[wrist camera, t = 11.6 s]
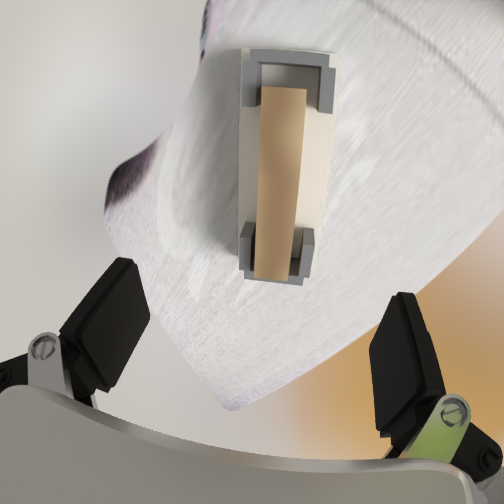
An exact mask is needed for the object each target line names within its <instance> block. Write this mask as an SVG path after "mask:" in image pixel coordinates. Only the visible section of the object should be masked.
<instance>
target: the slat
mask: <svg viewBox="0 0 504 504" xmlns="http://www.w3.org/2000/svg"><path fill="white" fill-rule="evenodd" d="M306 94H307V89H300V88H289V87H275V86H262V95H261V120H260V146H259V171H258V195H257V219H256V243H255V266H254V277H255V278H263V279H272V280H280V281H288V274H289V266H290V259H291V251H292V243H293V234H294V226H295V217H296V208H297V198H298V189H299V179H300V169H301V158H302V147H303V135H304V122H305V109H306Z"/></svg>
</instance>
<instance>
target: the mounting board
mask: <svg viewBox="0 0 504 504" xmlns="http://www.w3.org/2000/svg"><path fill="white" fill-rule="evenodd" d="M341 60H342V55H339V54H332V53H325V52H317V51H307V50H296V49H282V48H252V47H242V48H241V64H240V102H239V153H238V263H239V270H244V279H250V280H258V281H266V282H275V283H283V284H292V285H301V286H302V285H303V279H304V277H306V278H309V276H310V272H314V270H315V265H316V260H317V254H318V249H319V243H320V238H321V232H322V226H323V220H324V214H325V207H326V201H327V194H328V187H329V180H330V173H331V165H332V157H333V149H334V141H335V132H336V122H337V112H338V101H339V89H340V76H341ZM262 86H275V87H289V88H300V89H307V94H306V109H305V122H304V135H303V147H302V158H301V169H300V179H299V189H298V198H297V208H296V217H295V226H294V234H293V243H292V251H291V259H290V266H289V274H288V281H280V280H272V279H263V278H255V277H254V266H255V243H256V219H257V195H258V171H259V146H260V120H261V95H262Z"/></svg>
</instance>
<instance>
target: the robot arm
mask: <svg viewBox="0 0 504 504" xmlns="http://www.w3.org/2000/svg"><path fill="white" fill-rule="evenodd" d="M149 320H150V312H149V308H148V305H147V301H146V297H145V294H144V290H143V286H142V282H141V278H140V274H139V270H138V266H137V264H135V263H134V261H133V260H132V259H128V258H122V257H118V258H116V259H115V261H114V262H113V263H112V264H111V265H110V266H109V268H108V269H107V270H106V271H105V272H104V274H103V275H102V276H101V277H100V279H99V280H98V281H97V282H96V283H95V285H94V286H93V287H92V288H91V289H90V291H89V292H88V293H87V295H86V296H85V297H84V298H83V300H82V301H81V302H80V304H79V305H78V306H77V308H76V309H75V310H74V312H73V313H72V314H71V315H70V317H69V318H68V320H67V321H66V322H65V323H64V325H63V326H62V328H61V329H60V330H59V332H60V335H59V336H57V335H56V334H54V333H50V332H46V333H42V334H40V335H38V336H37V337H35V338H34V339H33V340H32V341H31V343H30V345H29V347H28V353H26V354H24V355H21V356H18V357H15V358H13V359H10V360H7V361H4V362H1V363H0V504H504V466H503V467H502V466H501V464H502V460H503V455H502V450H501V448H500V446H499V445H498V444H497V443H496V442H495V441H494V440H492V439H491V438H490V437H489V436H488V435H486V434H485V433H484V432H483V431H481V430H480V429H479V428H478V427H476V426H475V425H474V424H473V423H471V422H470V419H471V410H470V407H469V405H468V403H467V401H466V400H465V399H464V398H463V397H461V396H459V395H457V394H452V393H451V394H446V391H445V387H444V382H443V378H442V375H441V370H440V367H439V363H438V359H437V356H436V353H435V349H434V346H433V343H432V340H431V336H430V334H429V332H428V331H427V329H426V326H425V323H424V320H423V317H422V314H421V311H420V308H419V306H418V303H417V300H416V297H415V295H414V294H413V293H407V292H398V293H397V295H396V296H392V298H391V300H390V302H389V305H388V307H387V309H386V311H385V314H384V316H383V318H382V320H381V322H380V325H379V327H378V329H377V331H376V333H375V335H374V337H373V339H372V341H371V343H370V347H369V356H370V364H371V373H372V383H373V394H374V406H375V422H376V429H377V430H378V431H380V438H385V437H391V447H390V448H389V449H388V451H387V452H386V453H385V455H384V456H383V457H382V458H381V459H373V460H318V459H300V458H288V457H278V456H269V455H261V454H254V453H247V452H240V451H235V450H230V449H224V448H219V447H214V446H209V445H205V444H201V443H196V442H193V441H189V440H185V439H181V438H177V437H174V436H170V435H167V434H163V433H160V432H157V431H153V430H151V429H147V428H144V427H141V426H138V425H135V424H133V423H130V422H127V421H125V420H122V419H119V418H117V417H114V416H111V415H109V414H107V413H104V412H102V411H99V410H98V407H97V404H96V400H95V395H94V392H95V390H96V388H97V389H99V390H101V391H104V392H107V393H108V392H109V390H110V388H111V387H114V386H115V385H116V383H117V381H118V379H119V377H120V375H121V373H122V371H123V369H124V367H125V366H126V364H127V362H128V360H129V358H130V356H131V354H132V352H133V350H134V348H135V347H136V345H137V343H138V341H139V339H140V337H141V335H142V333H143V332H144V330H145V328H146V326H147V324H148V322H149Z"/></svg>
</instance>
